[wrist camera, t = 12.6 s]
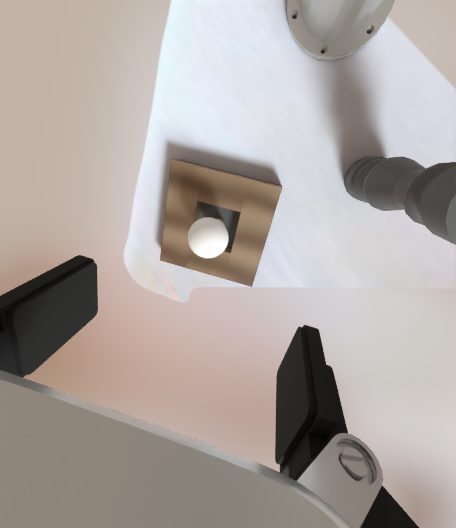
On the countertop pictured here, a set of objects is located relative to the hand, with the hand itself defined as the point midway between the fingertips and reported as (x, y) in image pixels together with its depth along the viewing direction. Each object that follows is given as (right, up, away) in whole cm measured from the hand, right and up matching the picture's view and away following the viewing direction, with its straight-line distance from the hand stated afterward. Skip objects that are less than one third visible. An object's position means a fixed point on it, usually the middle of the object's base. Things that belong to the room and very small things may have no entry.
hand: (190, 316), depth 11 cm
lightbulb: (0, +9, +33) cm, 35 cm away
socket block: (0, +10, +34) cm, 35 cm away
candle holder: (+23, +15, +27) cm, 39 cm away
